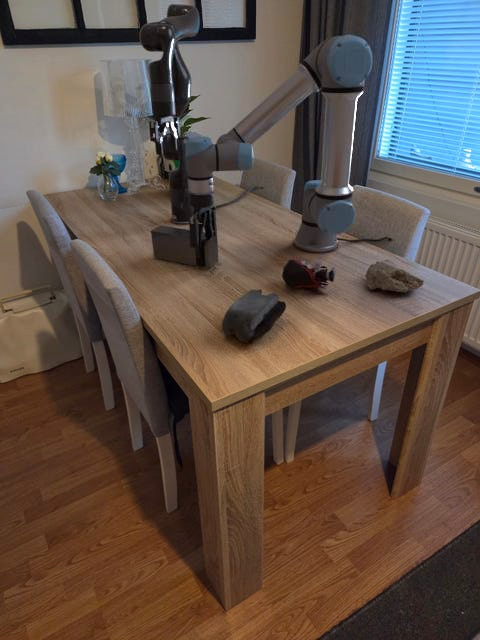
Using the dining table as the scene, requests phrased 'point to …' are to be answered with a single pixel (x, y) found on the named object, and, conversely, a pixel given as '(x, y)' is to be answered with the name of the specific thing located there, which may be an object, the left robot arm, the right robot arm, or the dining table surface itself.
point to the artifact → (391, 277)
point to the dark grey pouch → (252, 315)
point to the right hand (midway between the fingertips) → (205, 261)
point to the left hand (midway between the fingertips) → (167, 152)
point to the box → (182, 246)
